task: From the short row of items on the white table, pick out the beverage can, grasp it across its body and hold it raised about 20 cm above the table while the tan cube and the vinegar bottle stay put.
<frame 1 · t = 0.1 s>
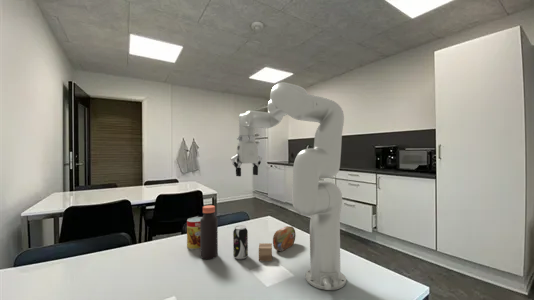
hand: (247, 175, 112), 31 cm above the table, tool pointing down, fingers open, 9 cm apart
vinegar: (209, 256, 95), on the table
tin: (284, 248, 103), on the table
canned food: (196, 246, 106), on the table
beverage can: (240, 257, 94), on the table
tan cube: (265, 258, 92), on the table
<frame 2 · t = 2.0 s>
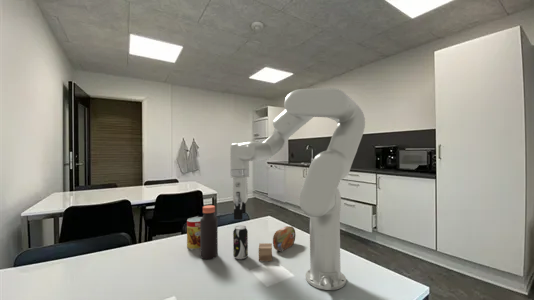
hand: (240, 216, 94), 16 cm above the table, tool pointing down, fingers open, 9 cm apart
nothing on the table moved.
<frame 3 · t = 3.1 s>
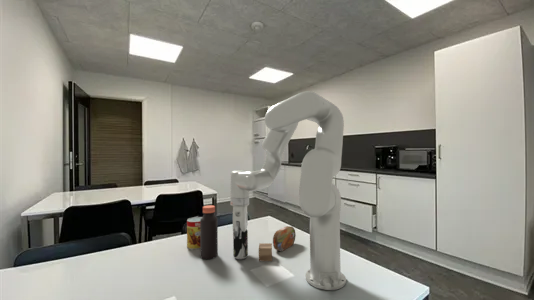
hand: (239, 243, 94), 5 cm above the table, tool pointing down, fingers open, 9 cm apart
nothing on the table moved.
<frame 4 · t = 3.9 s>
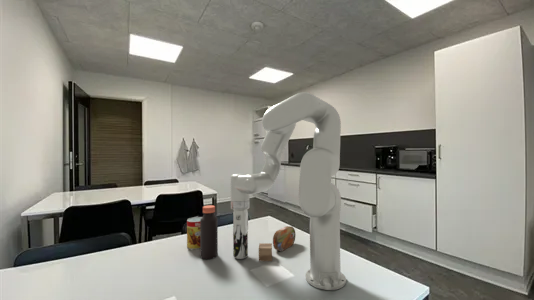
hand: (240, 250, 94), 3 cm above the table, tool pointing down, fingers closed on beverage can, 3 cm apart
beverage can: (240, 257, 94), on the table, touching gripper
everything else where it was.
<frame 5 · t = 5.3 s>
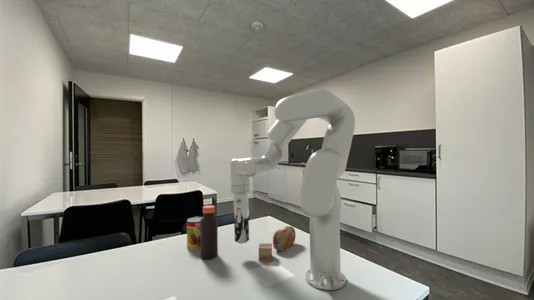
hand: (241, 234, 94), 9 cm above the table, tool pointing down, fingers closed on beverage can, 3 cm apart
beverage can: (242, 242, 93), point 6 cm above the table, touching gripper
everything else where it was.
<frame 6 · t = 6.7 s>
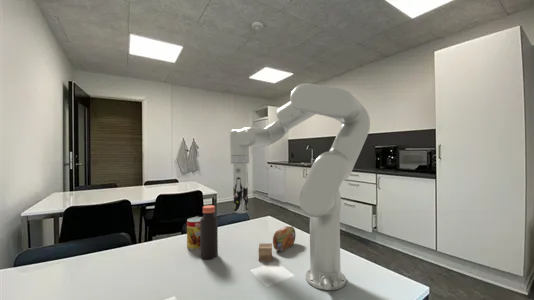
hand: (241, 205, 94), 21 cm above the table, tool pointing down, fingers closed on beverage can, 3 cm apart
beverage can: (241, 212, 94), point 18 cm above the table, touching gripper
everything else where it was.
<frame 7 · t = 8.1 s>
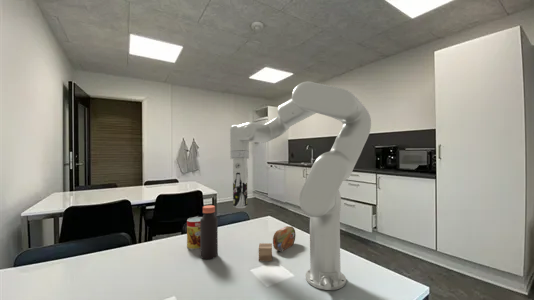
hand: (240, 200, 94), 22 cm above the table, tool pointing down, fingers closed on beverage can, 3 cm apart
beverage can: (240, 208, 94), point 20 cm above the table, touching gripper
everything else where it was.
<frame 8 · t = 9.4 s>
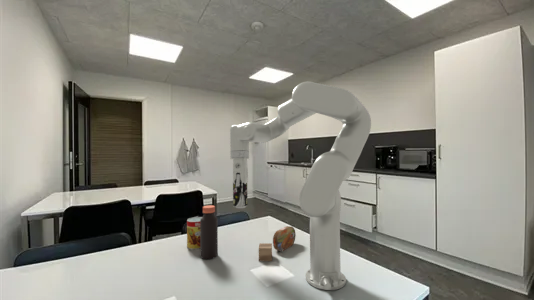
hand: (240, 200, 94), 22 cm above the table, tool pointing down, fingers closed on beverage can, 3 cm apart
beverage can: (240, 208, 94), point 20 cm above the table, touching gripper
everything else where it was.
at the end: the gripper is holding beverage can; beverage can point 19.6 cm above the table; tan cube moved 0.1 cm from its start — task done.
